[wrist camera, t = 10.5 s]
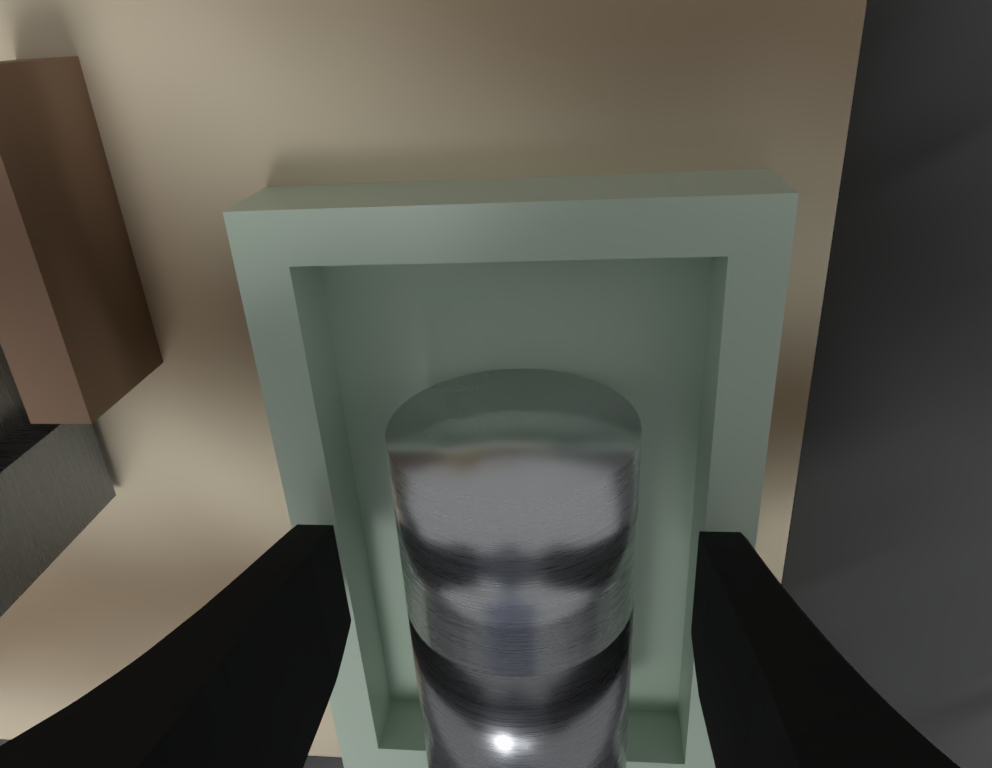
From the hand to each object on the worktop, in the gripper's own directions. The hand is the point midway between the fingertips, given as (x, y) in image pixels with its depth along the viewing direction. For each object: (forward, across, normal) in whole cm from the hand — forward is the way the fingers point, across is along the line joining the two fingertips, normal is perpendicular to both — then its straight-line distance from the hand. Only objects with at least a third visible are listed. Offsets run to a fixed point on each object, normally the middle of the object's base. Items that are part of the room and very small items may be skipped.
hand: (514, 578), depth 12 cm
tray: (+2, 0, 0) cm, 2 cm away
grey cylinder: (+2, 0, +1) cm, 2 cm away
